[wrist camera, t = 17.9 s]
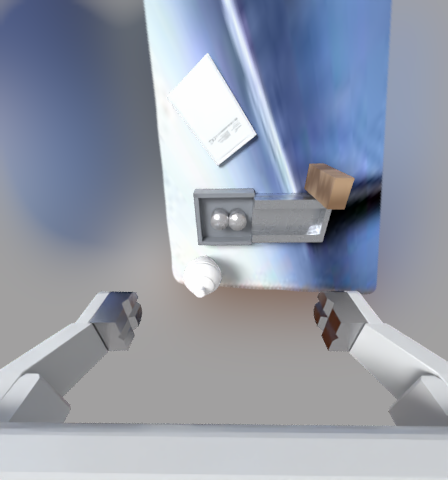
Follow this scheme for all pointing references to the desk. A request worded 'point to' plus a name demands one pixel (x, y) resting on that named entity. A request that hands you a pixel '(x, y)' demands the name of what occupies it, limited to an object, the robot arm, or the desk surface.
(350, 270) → the desk surface
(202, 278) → the white vase
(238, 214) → the silver metal ball
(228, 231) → the tray
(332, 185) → the tan long rectangular block
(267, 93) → the desk surface
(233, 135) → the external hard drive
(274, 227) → the slot block
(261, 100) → the desk surface
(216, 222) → the shiny gray ball
